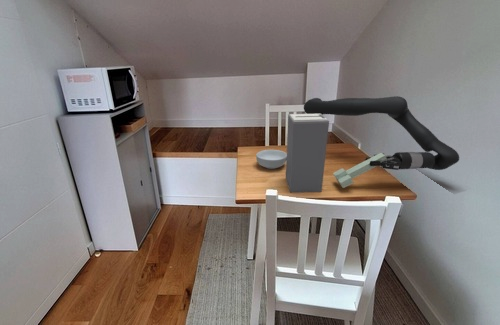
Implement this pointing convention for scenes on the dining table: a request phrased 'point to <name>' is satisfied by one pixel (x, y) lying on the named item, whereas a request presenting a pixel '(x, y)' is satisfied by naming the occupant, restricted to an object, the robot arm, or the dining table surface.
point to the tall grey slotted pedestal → (306, 152)
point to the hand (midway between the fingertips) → (368, 161)
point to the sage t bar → (356, 170)
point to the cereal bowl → (271, 158)
